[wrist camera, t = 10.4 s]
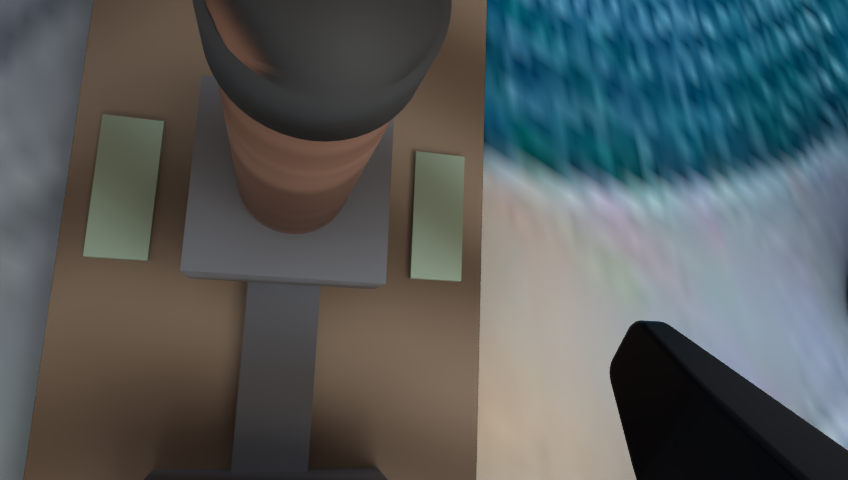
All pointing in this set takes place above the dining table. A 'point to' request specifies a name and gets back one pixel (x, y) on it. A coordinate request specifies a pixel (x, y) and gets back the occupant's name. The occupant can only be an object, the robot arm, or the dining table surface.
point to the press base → (255, 292)
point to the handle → (301, 136)
